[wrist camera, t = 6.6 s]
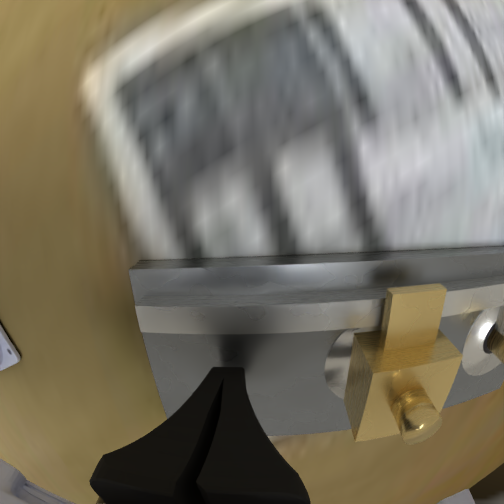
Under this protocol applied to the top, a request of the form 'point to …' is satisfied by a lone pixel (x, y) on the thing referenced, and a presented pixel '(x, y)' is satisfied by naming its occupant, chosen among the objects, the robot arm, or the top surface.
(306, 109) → the top surface
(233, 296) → the bolt plate
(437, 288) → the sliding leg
